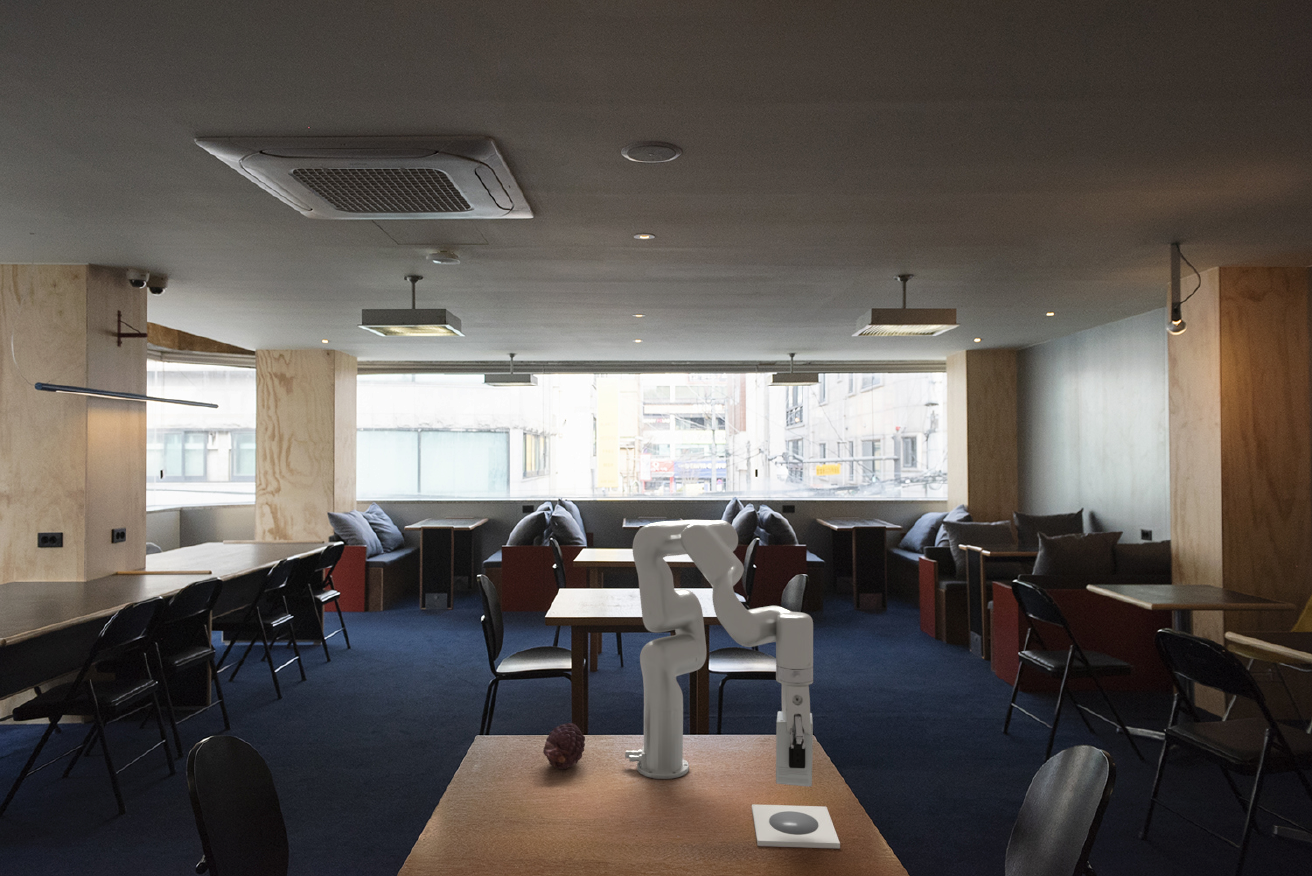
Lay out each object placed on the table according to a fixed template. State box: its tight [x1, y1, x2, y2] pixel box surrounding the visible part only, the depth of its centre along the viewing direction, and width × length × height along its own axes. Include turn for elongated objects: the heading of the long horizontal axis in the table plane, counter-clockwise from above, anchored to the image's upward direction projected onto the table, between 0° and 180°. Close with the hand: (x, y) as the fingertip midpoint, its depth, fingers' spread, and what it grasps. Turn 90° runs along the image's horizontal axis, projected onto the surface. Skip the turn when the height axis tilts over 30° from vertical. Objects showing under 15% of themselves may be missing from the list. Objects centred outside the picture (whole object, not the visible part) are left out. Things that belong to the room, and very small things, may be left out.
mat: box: [751, 803, 841, 849], centre depth 164 cm, size 16×16×1 cm
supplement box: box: [775, 710, 814, 787], centre depth 164 cm, size 7×7×13 cm
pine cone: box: [542, 722, 586, 770], centre depth 195 cm, size 18×10×10 cm, turn 171°
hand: (794, 759), depth 164 cm, fingers closed on supplement box, 7 cm apart
